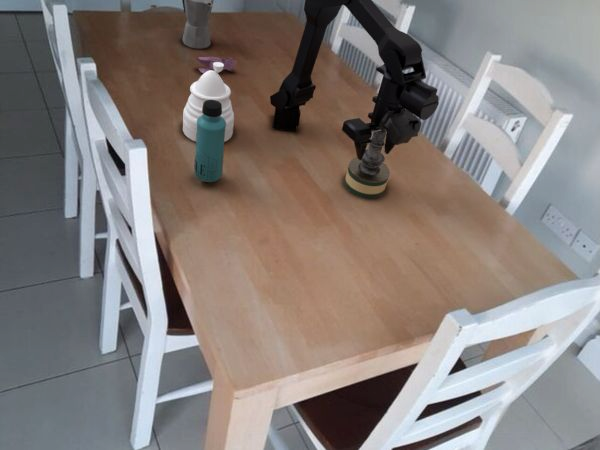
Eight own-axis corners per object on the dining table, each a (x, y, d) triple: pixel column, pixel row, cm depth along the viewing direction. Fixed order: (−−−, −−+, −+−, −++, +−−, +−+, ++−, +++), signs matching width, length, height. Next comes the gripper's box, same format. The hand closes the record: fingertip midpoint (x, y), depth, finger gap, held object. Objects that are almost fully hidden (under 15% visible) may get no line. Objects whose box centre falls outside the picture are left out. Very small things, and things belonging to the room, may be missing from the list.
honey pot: (211, 112, 152) (216, 50, 141) (242, 135, 146) (249, 71, 135) (172, 125, 144) (173, 60, 133) (203, 149, 138) (207, 83, 127)
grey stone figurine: (383, 176, 133) (397, 133, 125) (359, 174, 132) (371, 131, 124) (378, 162, 138) (391, 120, 130) (355, 160, 137) (367, 117, 129)
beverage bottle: (226, 176, 132) (233, 101, 119) (214, 191, 127) (220, 114, 114) (201, 167, 133) (206, 92, 120) (188, 182, 128) (191, 104, 115)
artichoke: (200, 56, 164) (238, 57, 170) (196, 53, 167) (233, 54, 173) (199, 74, 167) (237, 74, 172) (195, 70, 170) (232, 70, 175)
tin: (345, 196, 134) (350, 178, 130) (342, 171, 141) (347, 154, 138) (387, 200, 135) (393, 183, 132) (381, 176, 143) (387, 159, 139)
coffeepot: (220, 48, 183) (224, -7, 172) (196, 53, 178) (199, -4, 166) (192, 30, 191) (194, -25, 179) (168, 34, 185) (169, -22, 173)
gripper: (379, 122, 113) (361, 183, 123) (445, 110, 122) (423, 168, 132) (348, 95, 120) (333, 155, 130) (413, 86, 129) (394, 142, 139)
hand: (372, 156), depth 133 cm, fingers closed on grey stone figurine, 8 cm apart
